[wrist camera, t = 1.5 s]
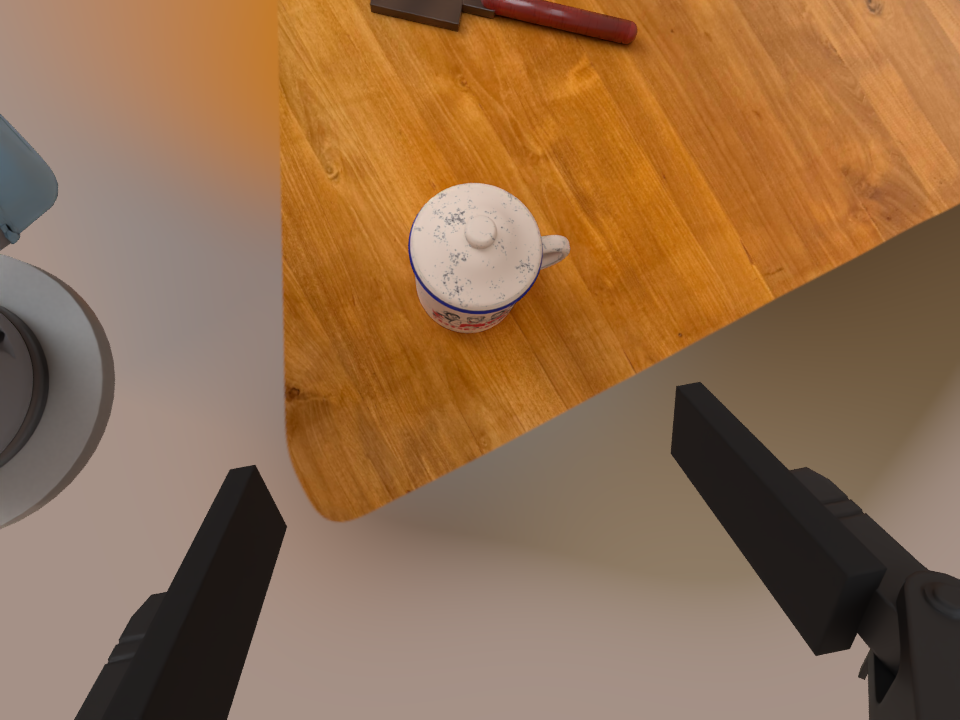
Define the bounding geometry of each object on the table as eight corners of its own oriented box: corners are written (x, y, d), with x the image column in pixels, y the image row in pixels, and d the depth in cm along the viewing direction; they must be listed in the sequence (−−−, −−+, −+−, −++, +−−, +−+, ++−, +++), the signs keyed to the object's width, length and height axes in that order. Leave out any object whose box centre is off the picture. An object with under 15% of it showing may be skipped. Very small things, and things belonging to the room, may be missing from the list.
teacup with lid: (424, 345, 38) (421, 313, 27) (404, 242, 39) (393, 168, 28) (561, 320, 40) (614, 280, 28) (539, 221, 41) (581, 143, 29)
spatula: (371, 11, 42) (368, -7, 40) (383, -45, 43) (381, -65, 41) (628, 70, 44) (637, 55, 42) (635, 15, 45) (644, -2, 43)
